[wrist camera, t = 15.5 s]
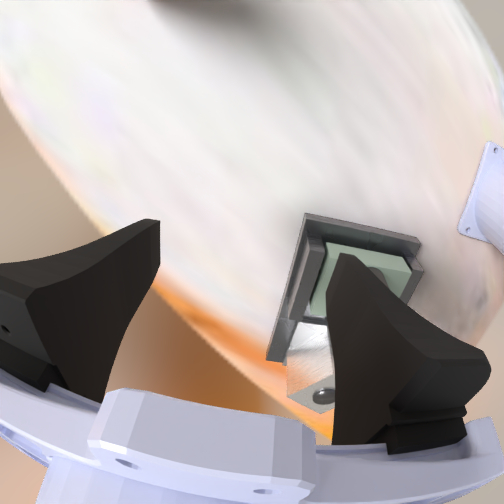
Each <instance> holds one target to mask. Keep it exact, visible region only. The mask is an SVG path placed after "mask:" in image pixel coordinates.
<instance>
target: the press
mask: <svg viewBox="0 0 504 504" xmlns="http://www.w3.org/2000/svg"><path fill="white" fill-rule="evenodd" d="M326 242H328V243H333V244H339V245H344V246H349V247H354V248H359V249H364V250H369V251H374V252H379V253H384V254H389V255H394V256H399V257H403V259H404V261H405V262H406V264H407V266H408V267H409V269H410V271H411V272H412V274H411V276H410V278H409V280H408V282H407V284H406V286H405V288H404V290H403V292H402V294H401V296H400V298H399V299H401V300H402V301H403V302H404V303H405V304H406V305H407V303H408V301H409V299H410V298H411V296H412V294H413V292H414V290H415V288H416V286H417V284H418V282H419V280H420V278H421V276H422V274H423V272H424V270H423V269H422V267H421V266H420V264H419V263H418V261H417V260H416V258H415V256H416V254H417V252H418V249H419V247H420V245H421V243H420V242H419V240H418V239H417V238H416V237H412V236H408V235H404V234H400V233H396V232H392V231H387V230H383V229H379V228H374V227H370V226H365V225H361V224H356V223H352V222H347V221H342V220H338V219H333V218H328V217H323V216H318V215H313V214H308V213H305V214H304V218H303V222H302V226H301V230H300V234H299V238H298V242H297V246H296V250H295V253H294V257H293V261H292V265H291V268H290V272H289V276H288V279H287V283H286V287H285V290H284V294H283V297H282V301H281V304H280V308H279V311H278V315H277V318H276V322H275V325H274V329H273V332H272V335H271V339H270V342H269V345H268V349H267V352H266V360H268V361H275V362H282V365H284V366H287V350H289V349H291V348H292V347H294V346H296V345H297V344H299V343H301V342H302V341H304V340H306V339H307V338H309V337H310V336H312V335H314V334H315V333H317V332H318V331H320V330H322V329H323V328H325V327H326V326H327V327H328V322H327V316H320V315H313V314H310V304H309V299H310V296H311V293H312V290H313V288H314V285H315V282H316V279H317V276H318V273H319V270H320V267H321V264H322V261H323V257H324V254H325V250H324V248H325V245H326Z"/></svg>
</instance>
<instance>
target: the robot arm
mask: <svg viewBox="0 0 504 504" xmlns="http://www.w3.org/2000/svg"><path fill="white" fill-rule="evenodd" d="M494 148H495V152H494ZM467 228H468V229H467ZM466 229H467V230H466ZM457 230H458V232H459V233H461V234H463V235H466V236H469V237H473V238H476V239H479V240H482V241H485V242H488V243H491V244H493V245H494V246H495V247H496V248H497V249H498V250H499V251H500V252H501V253H502V254H503V255H504V149H503V148H502V147H500V146H499V145H497V144H495V143H493V142H491V141H488V142H487V143H486V145H485V148H484V152H483V155H482V159H481V162H480V166H479V169H478V172H477V175H476V178H475V181H474V184H473V187H472V190H471V193H470V196H469V198H468V201H467V204H466V206H465V209H464V212H463V214H462V217H461V219H460V222H459V224H458V227H457ZM159 266H160V221H158V220H152V219H143V220H140V221H138V222H136V223H133V224H131V225H129V226H127V227H125V228H122V229H120V230H118V231H116V232H114V233H112V234H110V235H107V236H105V237H103V238H100V239H98V240H96V241H93V242H91V243H89V244H87V245H84V246H81V247H78V248H75V249H73V250H69V251H66V252H63V253H59V254H55V255H52V256H47V257H43V258H39V259H34V260H28V261H21V262H13V263H1V264H0V437H2V438H3V439H5V440H6V441H7V442H9V443H10V444H11V445H13V446H14V447H16V448H17V449H18V450H20V451H21V452H23V453H24V454H26V455H28V456H29V457H31V458H32V459H34V460H35V461H37V462H39V463H40V464H42V465H44V466H45V467H47V468H48V470H47V473H46V475H45V477H44V480H43V483H42V486H41V489H40V491H39V494H38V497H37V500H36V503H35V504H443V503H446V502H449V501H451V500H455V499H457V498H460V497H462V496H464V495H466V494H468V493H470V492H472V491H474V490H476V489H478V488H479V487H481V486H483V485H485V484H487V483H488V482H490V481H492V480H493V479H495V478H497V477H499V476H500V475H502V474H503V473H504V457H503V453H502V450H501V446H500V443H499V439H498V436H497V433H496V430H495V427H494V424H493V421H492V418H491V417H485V418H481V419H476V420H473V421H470V422H468V423H466V424H464V422H463V418H462V417H464V416H465V415H466V414H467V411H466V408H465V404H467V403H468V402H469V401H470V400H471V399H472V398H473V397H474V396H475V394H477V392H479V390H481V388H482V387H483V386H484V385H485V384H486V382H487V380H488V379H489V377H490V373H491V366H490V364H489V362H488V359H487V357H486V355H485V354H484V352H483V351H482V350H480V349H478V348H476V347H474V346H471V345H469V344H467V343H465V342H463V341H461V340H459V339H457V338H455V337H453V336H451V335H450V334H448V333H446V332H444V331H443V330H441V329H439V328H438V327H436V326H435V325H433V324H432V323H430V322H429V321H427V320H426V319H424V318H423V317H422V316H420V315H419V314H418V313H416V312H415V311H414V310H413V309H411V308H410V307H409V306H408V305H406V304H405V303H404V302H403V301H402V300H401V299H399V298H398V297H397V296H396V295H395V294H394V293H393V292H392V291H391V290H390V289H389V288H388V287H387V286H386V285H385V284H384V283H383V282H382V281H381V280H380V279H379V278H378V277H377V276H376V275H375V274H374V273H373V272H372V271H371V270H370V269H369V268H368V267H367V266H366V265H365V264H364V263H363V262H362V261H361V260H360V259H358V258H357V257H356V256H355V255H352V254H346V253H341V252H340V254H339V256H338V259H337V262H336V265H335V268H334V271H333V273H332V276H331V279H330V282H329V284H328V287H327V290H326V292H325V296H326V316H327V322H328V328H329V334H330V340H331V346H332V352H333V358H334V367H335V410H334V425H333V436H332V445H316V438H315V432H314V431H313V430H311V429H310V428H308V427H307V426H305V425H304V424H302V423H301V422H299V421H298V420H293V419H289V418H284V417H280V416H275V415H268V414H259V413H252V412H245V411H238V410H232V409H226V408H220V407H215V406H209V405H204V404H199V403H195V402H190V401H185V400H181V399H177V398H173V397H168V396H164V395H161V394H156V393H153V392H149V391H144V390H137V389H131V388H121V389H118V390H114V391H111V392H107V394H106V396H105V398H104V395H105V390H106V387H107V383H108V380H109V376H110V373H111V369H112V366H113V363H114V360H115V358H116V355H117V352H118V349H119V346H120V343H121V341H122V339H123V336H124V334H125V331H126V329H127V327H128V325H129V323H130V321H131V319H132V318H133V316H134V314H135V312H136V311H137V309H138V307H139V305H140V304H141V302H142V300H143V298H144V297H145V295H146V293H147V291H148V290H149V288H150V286H151V285H152V283H153V280H154V278H155V276H156V273H157V271H158V268H159ZM103 399H104V400H103Z"/></svg>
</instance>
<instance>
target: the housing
mask: <svg viewBox="0 0 504 504" xmlns="http://www.w3.org/2000/svg"><path fill="white" fill-rule="evenodd" d="M287 397H288V398H290V399H292V400H294V401H296V402H298V403H300V404H301V405H303V406H305V407H307V408H309V409H311V410H313V411H315V412H317V413H319V414H322V413H324V412H326V411H329V410H331V409H333V408H335V367H334V358H333V352H332V346H331V340H330V334H329V328H328V327H327V326H326V327H325V328H323V329H322V330H320V331H318V332H317V333H315V334H314V335H312V336H310V337H309V338H307V339H306V340H304V341H302V342H301V343H299V344H297V345H296V346H294V347H292V348H291V349H289V350H287Z"/></svg>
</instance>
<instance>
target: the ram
mask: <svg viewBox="0 0 504 504" xmlns="http://www.w3.org/2000/svg"><path fill="white" fill-rule="evenodd" d="M324 250H325V254H324V257H323V261H322V264H321V267H320V270H319V273H318V276H317V279H316V282H315V285H314V288H313V290H312V293H311V296H310V299H309V304H310V314H313V315H320V316H326V296H325V292H326V290H327V287H328V284H329V282H330V279H331V276H332V273H333V271H334V268H335V265H336V262H337V259H338V256H339V254H340V252H341V253H346V254H352V255H355V256H356V257H357V258H358V259H360V260H361V261H362V262H363V263H364V264H365V265H366V266H367V267H368V268H369V269H370V270H371V271H372V272H373V273H374V274H375V275H376V276H377V277H378V278H379V279H380V280H381V281H382V282H383V283H384V284H385V285H386V286H387V287H388V288H389V289H390V290H391V291H392V292H393V293H394V294H395V295H396V296H397V297H398V298H400V296H401V294H402V292H403V290H404V288H405V286H406V284H407V282H408V280H409V278H410V276H411V274H412V272H411V271H410V269H409V267H408V266H407V264H406V262H405V261H404V259H403V257H399V256H394V255H389V254H384V253H379V252H374V251H369V250H364V249H359V248H354V247H349V246H344V245H339V244H333V243H328V242H326V245H325V248H324Z"/></svg>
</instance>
